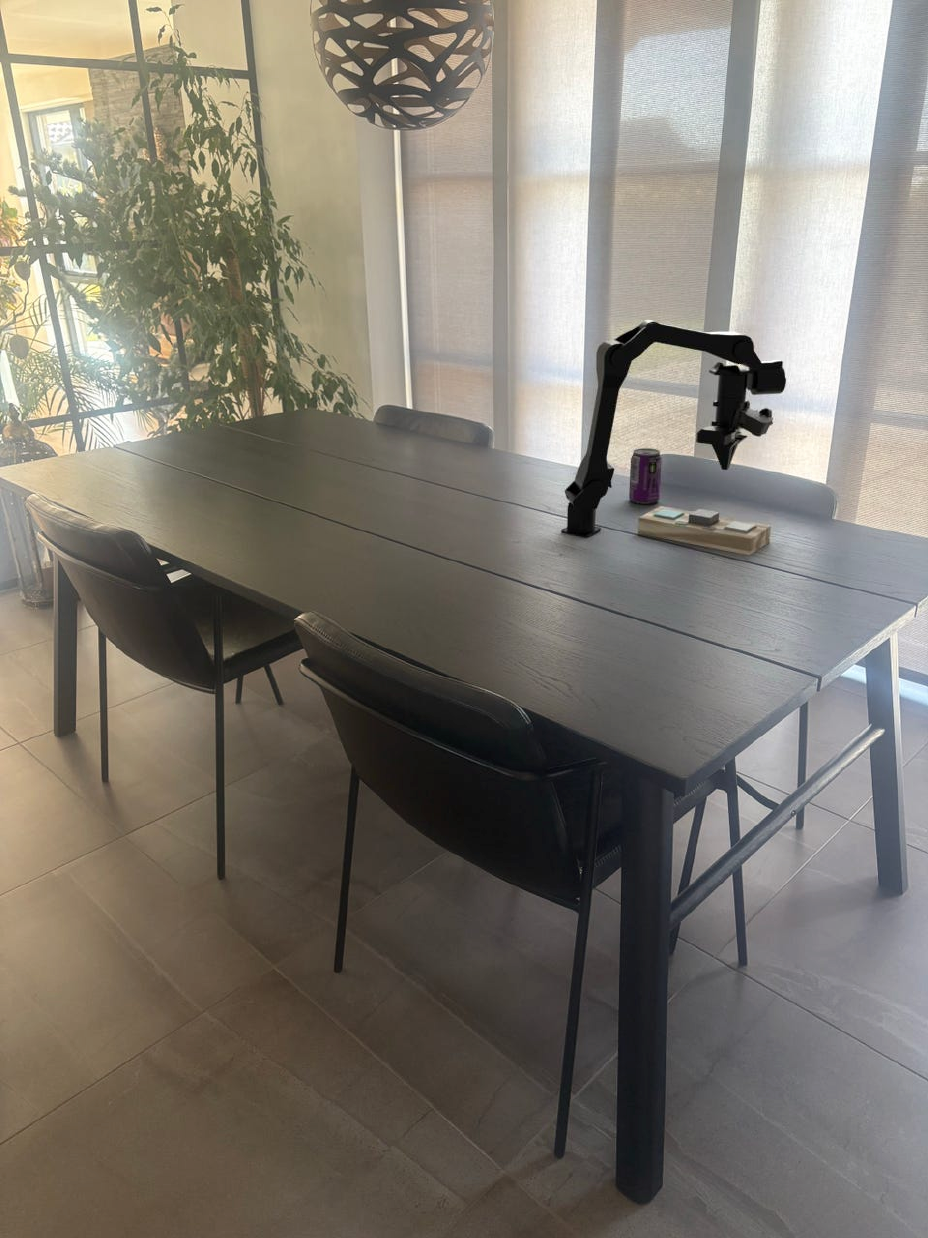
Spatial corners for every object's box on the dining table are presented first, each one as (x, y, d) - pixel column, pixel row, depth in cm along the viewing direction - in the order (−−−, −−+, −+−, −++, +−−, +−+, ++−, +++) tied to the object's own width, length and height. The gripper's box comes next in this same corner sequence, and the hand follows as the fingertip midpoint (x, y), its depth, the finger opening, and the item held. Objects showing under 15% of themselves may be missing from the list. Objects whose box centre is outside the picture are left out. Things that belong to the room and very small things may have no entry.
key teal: (672, 531, 197) (673, 517, 196) (653, 527, 200) (654, 513, 198) (682, 525, 200) (683, 512, 199) (663, 521, 203) (664, 508, 202)
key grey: (745, 544, 188) (746, 530, 186) (723, 540, 190) (724, 526, 189) (754, 538, 191) (755, 524, 190) (733, 534, 194) (734, 520, 192)
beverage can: (659, 505, 217) (662, 455, 212) (628, 504, 219) (630, 454, 214) (659, 497, 224) (662, 447, 219) (629, 496, 225) (631, 447, 220)
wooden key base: (749, 555, 185) (751, 537, 183) (637, 533, 199) (638, 516, 198) (769, 541, 192) (771, 524, 190) (659, 521, 206) (660, 505, 205)
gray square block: (708, 531, 192) (709, 517, 191) (688, 527, 194) (689, 514, 193) (718, 526, 195) (719, 512, 194) (697, 522, 198) (698, 508, 196)
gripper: (750, 407, 182) (743, 485, 188) (786, 392, 195) (778, 465, 201) (697, 401, 188) (692, 477, 194) (736, 387, 201) (729, 458, 208)
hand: (725, 469), depth 199 cm, fingers closed
